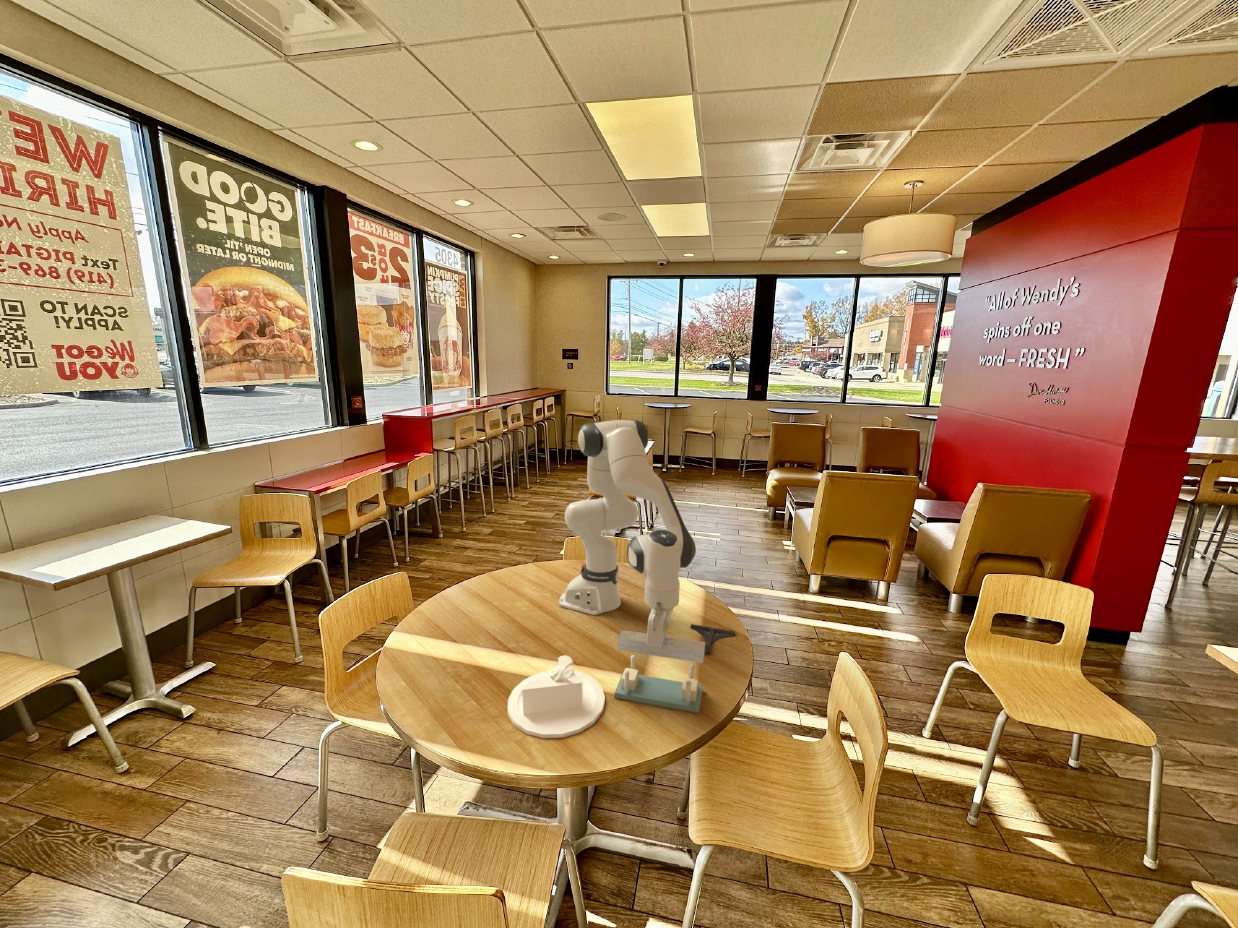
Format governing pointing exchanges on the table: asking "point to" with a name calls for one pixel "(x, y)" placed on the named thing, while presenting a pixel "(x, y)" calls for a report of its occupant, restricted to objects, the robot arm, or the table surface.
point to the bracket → (711, 634)
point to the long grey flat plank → (671, 646)
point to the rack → (660, 690)
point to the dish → (556, 702)
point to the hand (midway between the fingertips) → (660, 644)
